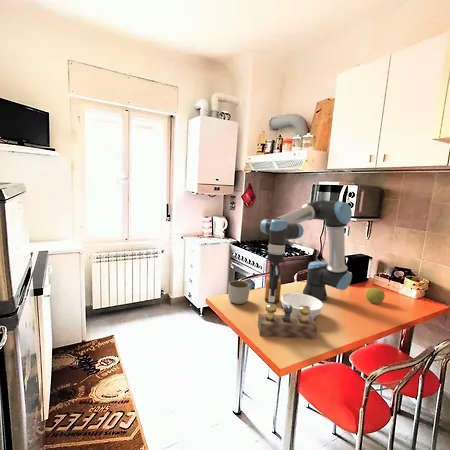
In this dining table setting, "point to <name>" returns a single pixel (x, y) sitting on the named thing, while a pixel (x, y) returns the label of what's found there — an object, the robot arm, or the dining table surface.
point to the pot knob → (287, 313)
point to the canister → (277, 293)
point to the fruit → (375, 295)
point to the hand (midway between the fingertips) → (271, 301)
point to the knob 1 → (270, 311)
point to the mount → (286, 327)
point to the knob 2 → (304, 313)
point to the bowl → (302, 303)
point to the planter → (238, 291)
